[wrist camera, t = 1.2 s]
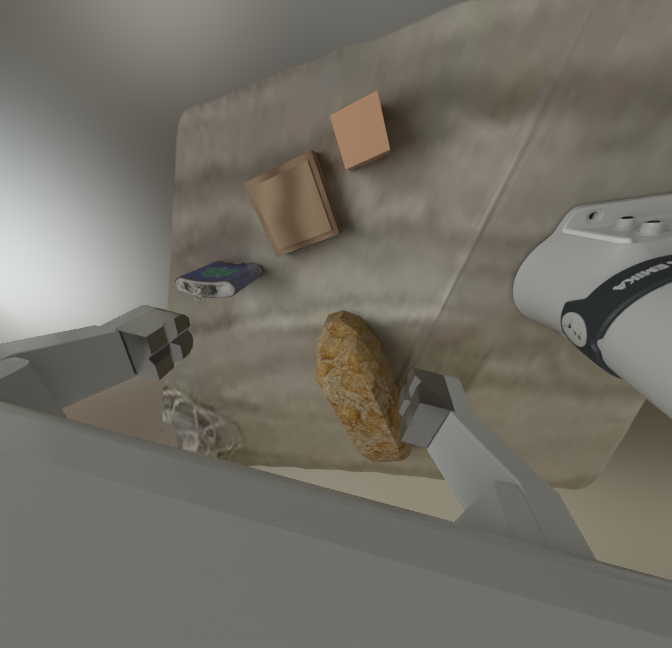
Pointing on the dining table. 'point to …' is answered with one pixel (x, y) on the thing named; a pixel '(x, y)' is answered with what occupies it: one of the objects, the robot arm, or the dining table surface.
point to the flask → (218, 279)
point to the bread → (360, 387)
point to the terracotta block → (361, 132)
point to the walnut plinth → (294, 204)
